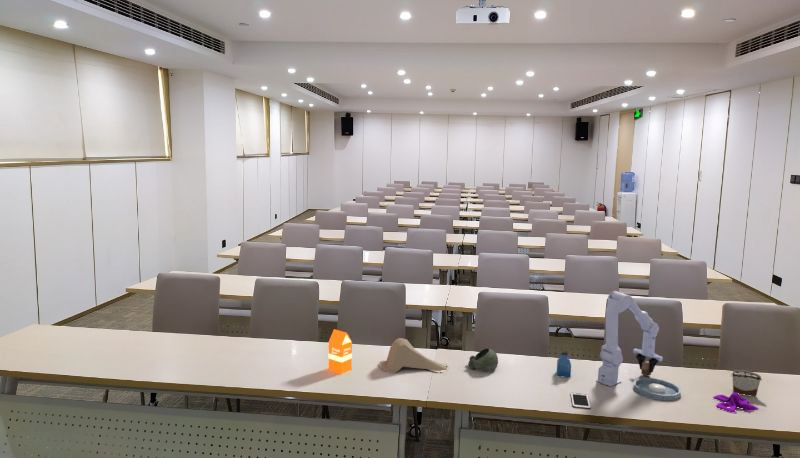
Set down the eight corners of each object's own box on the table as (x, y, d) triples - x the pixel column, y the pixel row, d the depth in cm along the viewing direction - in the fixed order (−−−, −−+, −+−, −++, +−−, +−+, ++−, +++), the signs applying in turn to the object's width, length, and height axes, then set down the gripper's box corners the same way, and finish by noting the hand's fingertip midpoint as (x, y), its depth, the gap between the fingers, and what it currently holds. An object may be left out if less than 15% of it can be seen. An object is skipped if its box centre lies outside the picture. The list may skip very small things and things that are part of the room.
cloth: (718, 413, 247) (719, 399, 247) (703, 395, 265) (705, 383, 265) (774, 418, 243) (776, 405, 243) (756, 400, 261) (757, 387, 261)
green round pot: (468, 361, 300) (469, 343, 299) (497, 363, 298) (498, 345, 297) (467, 372, 285) (468, 353, 284) (498, 374, 283) (499, 355, 282)
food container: (756, 392, 269) (758, 371, 268) (759, 397, 264) (762, 376, 262) (726, 388, 273) (729, 368, 272) (729, 393, 267) (731, 372, 266)
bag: (377, 379, 284) (447, 380, 280) (375, 347, 280) (446, 347, 276) (382, 361, 303) (448, 362, 299) (380, 331, 299) (448, 331, 295)
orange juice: (338, 365, 290) (339, 327, 288) (351, 369, 285) (352, 330, 283) (328, 370, 284) (328, 331, 281) (341, 374, 279) (341, 334, 276)
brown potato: (647, 376, 283) (648, 364, 282) (639, 373, 286) (640, 361, 286) (652, 374, 285) (653, 362, 285) (644, 371, 289) (645, 360, 288)
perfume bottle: (570, 377, 282) (571, 354, 280) (557, 376, 283) (558, 353, 281) (569, 373, 288) (570, 350, 286) (556, 371, 289) (558, 349, 287)
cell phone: (572, 408, 249) (572, 406, 249) (570, 394, 263) (570, 392, 263) (591, 410, 247) (591, 408, 247) (587, 396, 261) (588, 394, 261)
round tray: (665, 403, 254) (666, 399, 254) (625, 388, 270) (625, 383, 270) (688, 393, 266) (689, 388, 266) (648, 379, 282) (648, 374, 282)
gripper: (666, 347, 280) (664, 373, 282) (639, 339, 292) (637, 364, 294) (659, 349, 276) (656, 376, 278) (631, 341, 288) (629, 367, 290)
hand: (646, 370), depth 286 cm, fingers closed on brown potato, 4 cm apart
